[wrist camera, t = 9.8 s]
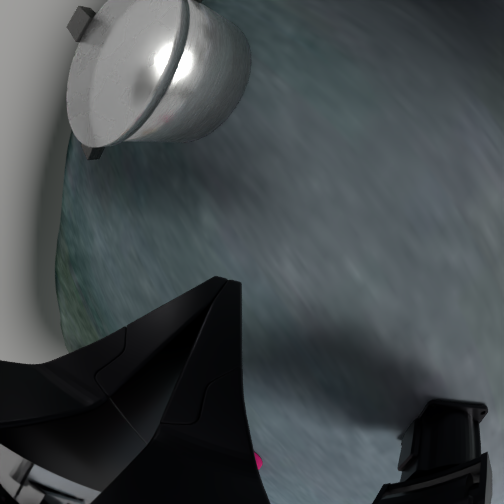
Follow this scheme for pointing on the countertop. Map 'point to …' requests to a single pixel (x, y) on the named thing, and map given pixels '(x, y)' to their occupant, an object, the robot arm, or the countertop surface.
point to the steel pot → (199, 83)
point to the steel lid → (122, 66)
